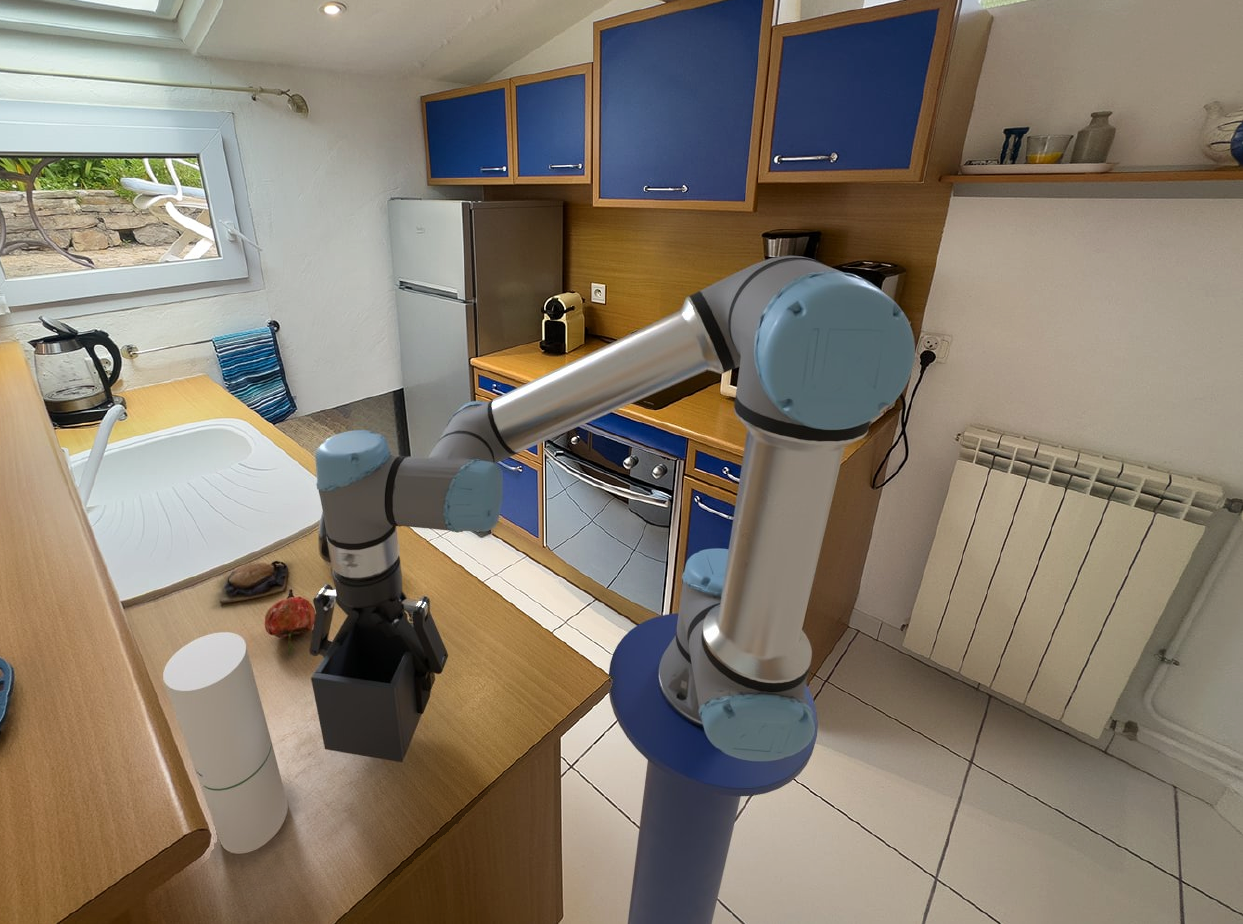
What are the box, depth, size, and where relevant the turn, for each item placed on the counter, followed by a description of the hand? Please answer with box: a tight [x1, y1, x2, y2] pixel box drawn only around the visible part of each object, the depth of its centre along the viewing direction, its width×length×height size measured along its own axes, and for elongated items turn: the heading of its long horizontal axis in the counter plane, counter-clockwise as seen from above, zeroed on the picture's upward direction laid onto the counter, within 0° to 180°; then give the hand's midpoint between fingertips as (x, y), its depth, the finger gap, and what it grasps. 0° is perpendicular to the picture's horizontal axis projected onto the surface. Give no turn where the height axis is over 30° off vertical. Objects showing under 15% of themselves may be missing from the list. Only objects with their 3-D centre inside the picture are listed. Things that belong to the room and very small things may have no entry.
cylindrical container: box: [162, 631, 289, 855], centre depth 60 cm, size 7×7×25 cm
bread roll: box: [218, 560, 288, 604], centre depth 100 cm, size 11×8×4 cm
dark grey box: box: [310, 621, 432, 763], centre depth 69 cm, size 10×12×10 cm
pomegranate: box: [264, 588, 316, 656], centre depth 88 cm, size 7×7×10 cm
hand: (384, 698), depth 72 cm, fingers closed on dark grey box, 10 cm apart
